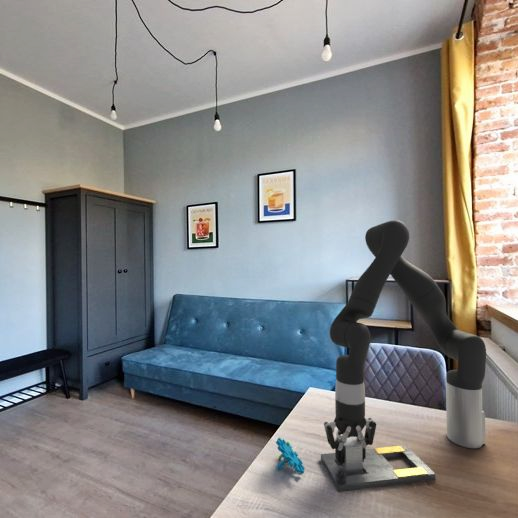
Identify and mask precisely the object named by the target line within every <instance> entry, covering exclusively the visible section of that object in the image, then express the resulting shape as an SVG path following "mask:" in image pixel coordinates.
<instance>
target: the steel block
mask: <svg viewBox="0 0 518 518" xmlns="http://www.w3.org/2000/svg"><path fill="white" fill-rule="evenodd" d="M342 450H343V464H340V463H339V465H338V467H339V469H340V471H341V472H342V474H343V476H351V475H360V474H364V473H363V459H362V445H361V444H360V443H359V441H358V440H357V438H356V437H349V438H347V440H346V443H344V446H343V448H342Z"/></svg>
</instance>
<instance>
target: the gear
mask: <svg viewBox="0 0 518 518" xmlns="http://www.w3.org/2000/svg"><path fill="white" fill-rule="evenodd" d="M275 444H276V445H277V450H278V451H279V452H281V454H280V455H279V456H278V459H279V460H282V461H280V462H279V463H278V465H277V466H276V467H275V469H276V470H277V471H278V472H279V471H280V470H282V468H283V467H284V465H286V464H288V466H289V467H290V468H293V467H294V468H293V469H294V471H295V472H296V473H297V474H300V475H303V474H304V473H305V469H306V468H305V466H304V465H303V464H304V462H303V460H302V459H301V458H299V454H298V453H297V452H296V451H294V449H293V447H292V446H291V443H290V442H289V441H286V440H285V439H282V438H281V437H278V438H277V441H275ZM282 458H283V459H282Z"/></svg>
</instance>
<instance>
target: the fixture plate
mask: <svg viewBox="0 0 518 518" xmlns="http://www.w3.org/2000/svg"><path fill="white" fill-rule="evenodd" d="M399 458H400V459H401V458H402V459H404V460H405V461H406V462H407V463H408V464H409V466H411V467H409V468H401V469H395V468H394V467H393V466H392V465H391V463H389V461H388V460H391V459H399ZM320 461H321V463H322V465H323V466H324V468H325V470H326V472H327V474H328V476H329V479H331V481H332V483H333V486H334V488H335V489H336V491H337V492H340V493H341V492H345V491H346V492H347V491H348V492H349V491H355V490H357V491H358V490H363V489H371V488H380V487H387V486H395V485H401V484H402V485H403V484H404V485H405V484H410V483H419V482H427V481H435V480H436V473H435V472H434V471H433V469H431V468H430V467H429V466H428V465H427V464H426V463H425V462H424V461H423V460H422V459H421V458H420V457H419V456H418V455H416V453H415V452H413V451H412V450H411V449H410V448H409V447H408V445H405V444H404V445H394V446H393V445H392V446H386V447H385V446H384V447H375V448H369V449H368V448H367V449H366V457H365V459H364V462H363V474H360V475H351V476H344V475H343V473H342V472H341V470H340V468H339V462H338V461H337V459H336V457H335V452H330V453H322V454H320Z"/></svg>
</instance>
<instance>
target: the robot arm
mask: <svg viewBox="0 0 518 518" xmlns="http://www.w3.org/2000/svg"><path fill="white" fill-rule="evenodd" d="M364 238H365V243H366V246H367V248H368V250H369V252H370V253H371V254H372V255H373V256H374V257H375V258H374V259H373V261H371V263H370V265H369V266H368V267H367V268H366V269H365V270H364V272H363V273H362V274H361V275H360V277H359V278H358V280H357V281H356V283H355V284H354V286H353V289H352V291H351V293H350V296H349V299H348V301H347V303H346V304H345V305H344V307H343V308H342V309H341V310H340V311H339V313H338V314H337V315H336V316H335V318H334V319H333V321H332V323H331V325H330V329H329V337H330V340H331V342H332V343H333V344H335V345H337V346H340V347H343V348H347V349H349V352H348V353H349V354H342V355H339V356H338V357H337V359H336V362H335V377H336V378H335V389H334V390H335V393H334V394H335V395H334V397H335V398H334V399H335V400H334V401H335V402H334V403H335V408H334V409H335V412H334V413H335V417H334V420H333V421H331V422H328V421H325V422H323V425H324V431H325V434H326V440H327V442H328V445H329V446H330V448H331V449H332V450H334V451H335V452H334V453H335V457H336V459H337V461H338V462H339V463H340V464H343V450H342V448H343V446H344V443H346V440H347V438H349V437H355V438H356V439H357V440H358V441H359V443H360V444H361V445H362V459H363V462H364V459H365V457H366V448H367V446H372V445H373V444H374V441H375V440H374V438H375V434H376V429H377V423H376V421H375V420H373V419H372V418H371V417H369V418H368V419H367V418H366V387H365V362H366V359H367V355H368V351H369V348H370V345H371V339H372V337H371V336H372V335H371V332H370V330H369V328H368V326H367V325H366V324H364V323H362V322H358V321H360V320H361V319H368V318H371V317H372V316H373V314H374V312H375V309H376V306H377V304H378V301H379V299H380V295H381V293H382V290H383V289H384V286H385V284H386V282H387V280H388V279H389V277H390V276H391V277H392V279H393V280H394V282H395V283H396V284H397V286H398V287H399V288H400V290H401V291H402V292H403V294H404V295H405V297H406V298H407V300H408V301H409V302H410V304H411V305H412V306H413V308H414V309H415V311H416V312H417V313H418V315H419V316H420V318H421V319H422V320H423V321H424V323H425V324H426V326H427V327H428V329H429V330H430V332H431V333H432V335H433V338H434V339H435V341H436V343H437V345H438V347H439V348H440V350H441V351H442V353H443V354H444V355H446V357H448V358H449V359H453V360H455V361H457V368H456V369H451V370H448V371H447V372H446V374H445V375H446V376H445V378H446V379H445V381H446V383H445V385H446V387H445V388H446V389H445V392H446V395H445V397H446V400H445V403H446V404H445V405H446V408H445V410H446V437H447V438H448V440H450V441H451V442H452V443H454V444H455V445H458V446H461V447H464V448H468V449H479V448H481V447H482V446H483V445H485V444H486V412H485V411H484V410H483V382H484V380H485V376H486V368H487V367H486V366H487V364H486V363H487V348H486V343H485V341H484V340H483V339H482V337H480V336H478V335H476V334H473V333H470V332H466V331H463V330H460V329H459V328H457V326H456V325H455V324H454V323H453V322H452V320H451V319H450V317H449V316H448V314H447V301H446V297H445V295H444V293H443V291H442V290H441V288H440V287H439V285H438V284H437V282H436V281H435V280H434V279H433V277H431V275H429V274H428V273H427V272H425V271H424V270H422V269H421V268H419V267H418V266H415V265H414V264H412V263H410V262H409V261H408V260H406V258H404V257H403V253H404V252H405V251H406V250H405V249H406V248H407V246H408V244H409V241H410V232H409V228H408V226H407V224H405V223H404V222H403V221H400V220H397V219H395V220H389V221H386V222H383V223H380V224H377V225H374V226H372V227H370V228H369V229H368V230H367V231H366V232H365V237H364ZM335 428H337V430H336V436H335V437H334V433H335ZM364 428H365V431H364V434H363V430H364Z"/></svg>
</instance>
